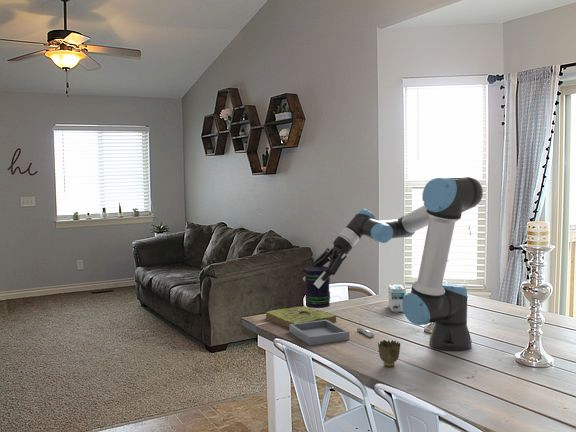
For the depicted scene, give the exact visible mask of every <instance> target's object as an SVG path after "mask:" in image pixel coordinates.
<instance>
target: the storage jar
mask: <svg viewBox="0 0 576 432" xmlns="http://www.w3.org/2000/svg"><path fill="white" fill-rule="evenodd" d="M327 267H328V266H325V265H323V266H312V265H311V266H306V267H305V269H304V271H305V273H304V274H305V275H304V277H305V281H304V282H305V293H304V294H305V297H304V299H305V306H306V307H310V308H313V309H325V308H328V307H330V306H331V302H330V300H331V291H330V282H331V276H329V277H328V278H327V279H326V281H325V282H324V283H323V284H322V285H321V287H320V288H317V287H316V286H315V285H314V283H315V281H316V280H317V279H318V278H319V277H320V275H321V274H322V273H323V272H324V271H325V269H327ZM325 272H326V271H325Z"/></svg>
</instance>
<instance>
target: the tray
mask: <svg viewBox="0 0 576 432" xmlns="http://www.w3.org/2000/svg"><path fill="white" fill-rule="evenodd" d="M288 329H289V331H288V332H289V333H290V332H291V334H292V335H293V334H294V335H293V336H295V337H297V339H299V340H301V341H302V342H304V343H305V344H307V346H313V345H314V346H315V345H316V346H317V345H321V344H329V343H335V342H343V341H349V340H350V331H348V330H347V329H345V328H343V327H341V326H339V325H338V324H336V323H335V322H334V323H332V322H330V321H328V320H320V321H312V322H304V323H296V324H289V328H288Z"/></svg>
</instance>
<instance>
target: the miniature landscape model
mask: <svg viewBox="0 0 576 432" xmlns="http://www.w3.org/2000/svg"><path fill="white" fill-rule="evenodd" d="M265 313H266V315H265V319H266V320H268V319H269V321H270V320H271V322H274V323H276V324H278V325H280V326H283V327H285V326H286V328H288V327H289V324H296V323H304V322H312V321H320V320H328V321H330V322H332V323H334V324H335V323H337V315H336V314H333V313H330V312H327V311H324V310H321V309H317V308H310V307H307V306H306V305H304V306H301V305H299V306H295V307H289V308H286V307H285V308H281V309H279V308H278V309H273V310H269V311H267V312H265Z"/></svg>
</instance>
